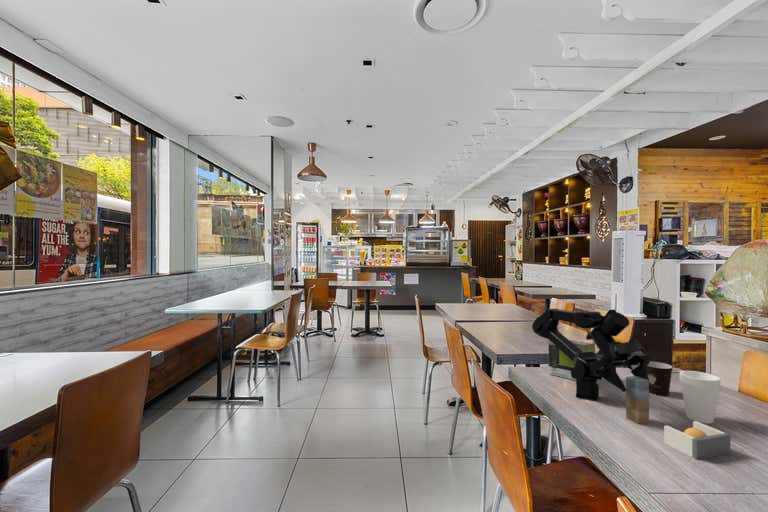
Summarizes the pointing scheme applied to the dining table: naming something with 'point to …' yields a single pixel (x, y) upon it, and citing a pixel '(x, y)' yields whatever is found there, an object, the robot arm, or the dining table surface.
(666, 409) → the dining table surface
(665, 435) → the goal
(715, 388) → the foam cup
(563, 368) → the tea box
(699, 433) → the ball
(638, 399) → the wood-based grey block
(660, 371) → the coffee mug
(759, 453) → the dining table surface
